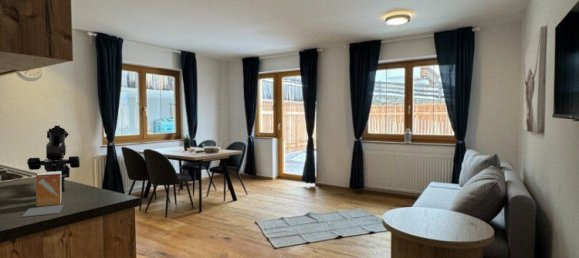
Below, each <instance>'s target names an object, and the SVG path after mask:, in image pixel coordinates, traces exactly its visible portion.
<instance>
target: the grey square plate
mask: <svg viewBox="0 0 579 258" xmlns="http://www.w3.org/2000/svg"><path fill="white" fill-rule="evenodd" d="M64 205H65V204H59V205H48V206H38V207H36V206H35V207H29V208H28V209H27V210H26V211H25V212H24V213H23V215H22V217H21V218H30V217H38V216H49V215H57V214H60V213H61V211H62V209H63V207H64Z"/></svg>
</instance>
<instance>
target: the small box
mask: <svg viewBox="0 0 579 258" xmlns="http://www.w3.org/2000/svg"><path fill="white" fill-rule="evenodd" d="M35 184H36V187H35V193H36V194H35V204H36V206H35V207H45V206H56V205H62V204H61V202H62V191H61V171H57V172H46V171H45V172H44V171H42V172H37V173H36V176H35Z"/></svg>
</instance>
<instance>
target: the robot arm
mask: <svg viewBox="0 0 579 258" xmlns="http://www.w3.org/2000/svg"><path fill="white" fill-rule="evenodd" d="M68 137H69V133H68V132H67V130H65V128H63V127H61V125H54V127H52V128H48V130H47V131H46V138H47V139H48V142H47V144H46V146H45V147H46V148H45V150H46V152H45V153H46V154H45V155H46V156H45V157H46V159H44V160H41V158H40V157H29V158H28V159H27V161H26V165H27V166H28V169H29V170H30V171H33V170H34V171H35V170H37V171H38V170H40V169H41V168H42V167H43V168H44V171H45V172H57V171H61V192H65V191H66V190H67V187H66V186H65V181H66V179H65V178H67V179H68V178H70V174H71V173H70V172H71V171H70V170H71V169H75V168H76V169H78V168H80V166H81V161H80V157H79V155H78V156H77V155H76V156H75V155H74V156H73V155H72V156H71V155H70V156H68V158H66V159H65V156H66V152H67V151H66V150H67V145H66V142H65V141H66V139H67V138H68Z"/></svg>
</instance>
